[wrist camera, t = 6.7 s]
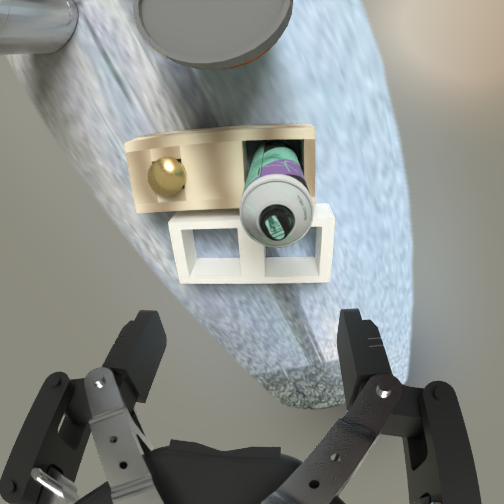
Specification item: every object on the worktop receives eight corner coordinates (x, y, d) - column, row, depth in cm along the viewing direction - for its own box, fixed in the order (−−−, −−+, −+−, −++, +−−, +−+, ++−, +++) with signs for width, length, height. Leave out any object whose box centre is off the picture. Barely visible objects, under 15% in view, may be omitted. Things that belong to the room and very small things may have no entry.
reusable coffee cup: (173, 1, 27) (121, -37, 14) (274, -21, 25) (275, -78, 12) (193, 87, 33) (145, 87, 20) (296, 67, 31) (311, 50, 18)
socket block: (150, 199, 40) (136, 213, 36) (140, 135, 36) (124, 142, 32) (309, 192, 39) (314, 206, 34) (309, 123, 34) (315, 128, 30)
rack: (188, 264, 45) (180, 283, 41) (179, 207, 41) (168, 222, 37) (324, 262, 44) (329, 282, 39) (328, 203, 39) (335, 218, 35)
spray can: (282, 189, 39) (289, 278, 21) (245, 168, 38) (219, 242, 20) (305, 154, 36) (336, 217, 19) (267, 131, 35) (261, 172, 18)
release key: (165, 182, 39) (150, 197, 34) (161, 150, 37) (144, 160, 32) (197, 180, 38) (186, 194, 34) (193, 147, 36) (181, 156, 31)
